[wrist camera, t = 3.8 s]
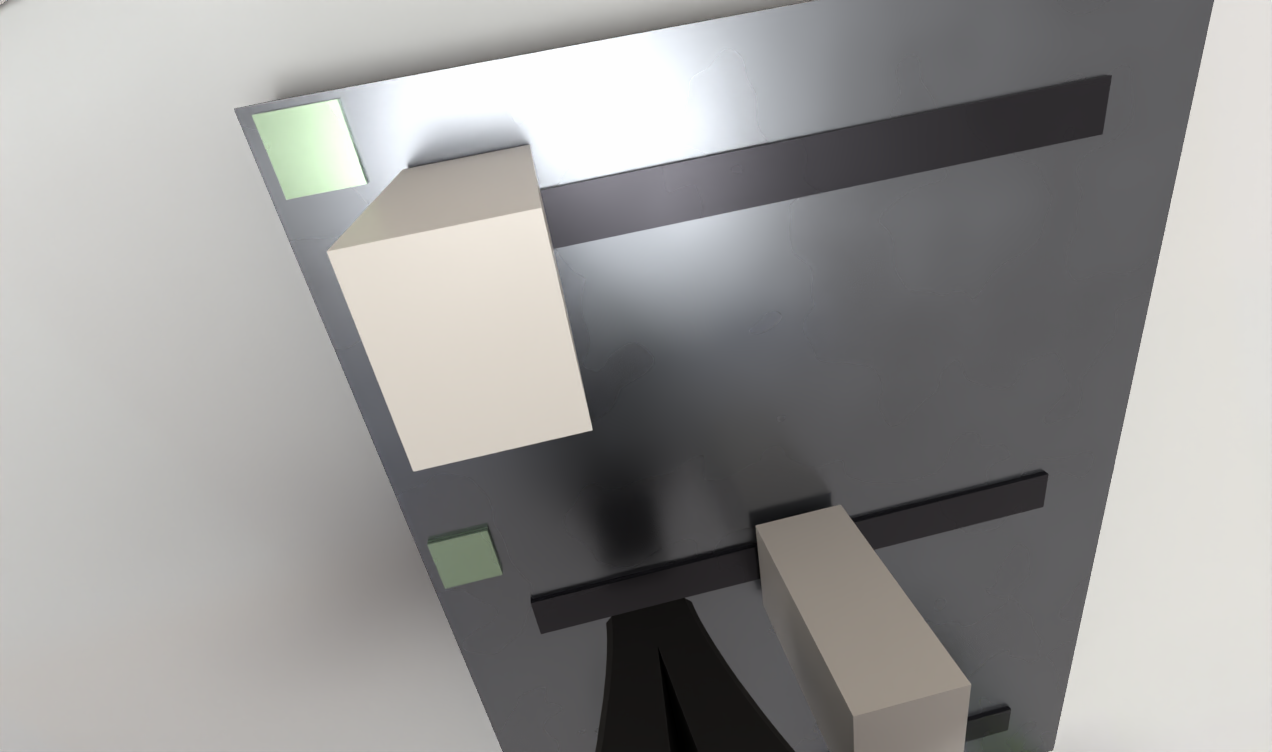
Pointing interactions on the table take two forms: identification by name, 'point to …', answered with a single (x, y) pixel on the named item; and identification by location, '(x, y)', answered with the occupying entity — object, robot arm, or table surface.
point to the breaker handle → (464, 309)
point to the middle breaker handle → (858, 640)
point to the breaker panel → (788, 325)
